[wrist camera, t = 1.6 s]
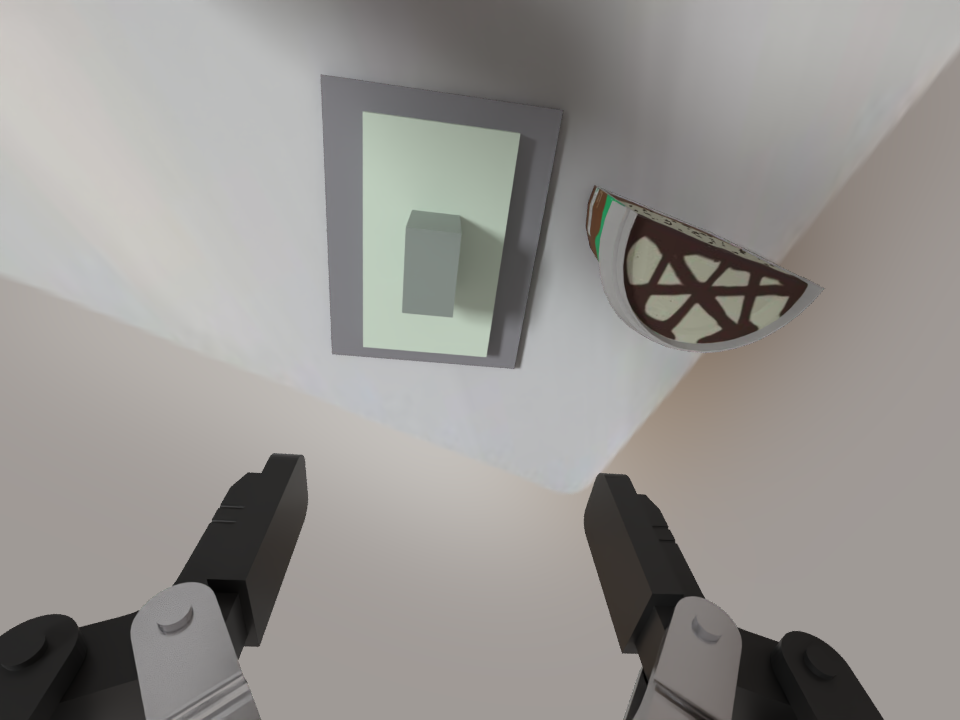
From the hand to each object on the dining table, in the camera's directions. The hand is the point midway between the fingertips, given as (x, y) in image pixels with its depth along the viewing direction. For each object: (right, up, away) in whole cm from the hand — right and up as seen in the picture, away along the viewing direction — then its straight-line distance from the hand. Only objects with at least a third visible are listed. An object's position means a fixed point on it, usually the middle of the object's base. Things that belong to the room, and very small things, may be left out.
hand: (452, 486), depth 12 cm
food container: (+12, +11, +20) cm, 26 cm away
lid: (-2, +11, +18) cm, 21 cm away
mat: (-2, +11, +18) cm, 22 cm away
